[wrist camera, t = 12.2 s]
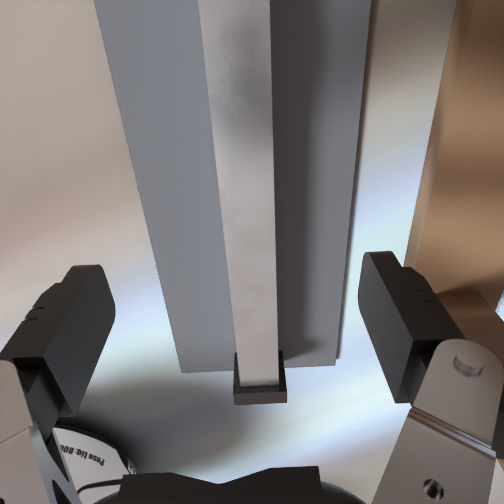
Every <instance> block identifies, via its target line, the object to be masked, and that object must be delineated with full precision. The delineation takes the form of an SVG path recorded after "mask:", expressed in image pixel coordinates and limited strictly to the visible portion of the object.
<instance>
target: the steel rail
mask: <svg viewBox="0 0 504 504" xmlns="http://www.w3.org/2000/svg"><path fill="white" fill-rule="evenodd" d="M198 6H199V15H200V24H201V33H202V42H203V51H204V60H205V69H206V78H207V87H208V96H209V105H210V114H211V123H212V132H213V141H214V150H215V159H216V168H217V177H218V186H219V195H220V204H221V214H222V223H223V232H224V241H225V250H226V259H227V268H228V277H229V286H230V295H231V304H232V313H233V322H234V331H235V340H236V349H237V353H235V355H234V385H233V396H234V404H235V405H248V404H269V403H287V388H286V379H285V370H284V361H283V352H282V350H281V351H278V329H277V287H276V246H275V204H274V163H273V121H272V80H271V38H270V0H198Z"/></svg>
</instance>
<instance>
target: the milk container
mask: <svg viewBox="0 0 504 504" xmlns="http://www.w3.org/2000/svg"><path fill="white" fill-rule="evenodd" d="M53 430H54V431H55V433H56V435H57V438H58V441H59V444H60V447H61V449H62V452H63V455H64V458H65V461H66V463H67V466H68V469H69V472H70V475H71V477H72V480H73V483H74V486H75V489H76V491H77V493H78V496H79V498H80V500H81V502H82V504H93V503H95V502H97V501H98V500H100V499H102V498H104V497H106V496H108V495H110V494H112V493H115V492H118V491H119V489H120V485H121V481H122V477H123V474H138V472H137V469H136V467H135V465H134V464H133V463H132V461H131V460H130V459H129V457H128V456H127V455H126V454H125V453H124V452H123V451H122V450H121V449H120V448H118V447H117V446H115V445H113V444H111V443H110V442H108V441H107V440H106V439H104V438H103V437H101V436H99V435H96V434H94V433H90V432H87V431H84V430H82V429H79V428H77V427H74V426H70V425H63V424H55V425H54V427H53Z"/></svg>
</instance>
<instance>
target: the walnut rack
mask: <svg viewBox="0 0 504 504" xmlns="http://www.w3.org/2000/svg"><path fill="white" fill-rule="evenodd" d="M403 267H411V268H413V269H414V270H416V271H417V272H418V273H420V274H421V275H422V276H424V277H425V279H426V280H427V282H428V283H429V285H430V286H431V288H432V289H433V292H435V294H436V295H437V297H438V298H439V301H440V302H441V303H442V304H443V305H444V307H445V308H446V310H447V311H448V313H449V314H450V316H451V317H452V319H453V320H454V322H455V323H456V325H457V326H458V328H459V329H460V331H461V332H462V334H463V335H464V337H465V338H466V340H468V341H471V342H474V343H477V344H479V345H481V346H483V347H485V348H486V349H488V350H489V351H491V352H492V353H493V354H494V355H495V356H496V357H497V358H498V359H499V360H500V362H501V363H502V365H504V321H503V320H502V319H501V318H500V317H499V315H498V314H497V313H496V312H495V309H496V307H497V304H498V302H499V299H500V297H501V294H502V292H503V289H504V0H457V4H456V9H455V14H454V19H453V24H452V29H451V34H450V39H449V44H448V49H447V54H446V59H445V63H444V68H443V73H442V78H441V83H440V88H439V93H438V98H437V103H436V108H435V113H434V118H433V123H432V128H431V133H430V138H429V142H428V147H427V152H426V157H425V162H424V167H423V172H422V177H421V182H420V187H419V192H418V197H417V202H416V207H415V212H414V217H413V221H412V226H411V231H410V236H409V241H408V246H407V251H406V256H405V261H404V266H403ZM497 460H498V462H499V464H500V465H501V467H502V469H503V471H504V460H501V459H497Z"/></svg>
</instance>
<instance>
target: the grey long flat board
mask: <svg viewBox="0 0 504 504" xmlns="http://www.w3.org/2000/svg"><path fill="white" fill-rule="evenodd" d="M94 4H95V8H96V13H97V17H98V21H99V25H100V29H101V34H102V38H103V42H104V46H105V51H106V55H107V59H108V63H109V67H110V72H111V76H112V80H113V84H114V89H115V93H116V97H117V101H118V106H119V110H120V114H121V118H122V122H123V127H124V131H125V135H126V139H127V144H128V148H129V152H130V156H131V160H132V165H133V169H134V173H135V177H136V182H137V186H138V190H139V194H140V198H141V203H142V207H143V211H144V215H145V220H146V224H147V228H148V232H149V237H150V241H151V245H152V249H153V253H154V258H155V262H156V266H157V270H158V275H159V279H160V283H161V287H162V291H163V296H164V300H165V304H166V308H167V313H168V317H169V321H170V325H171V329H172V334H173V338H174V342H175V346H176V351H177V355H178V359H179V363H180V368H181V372H182V373H192V372H212V371H233V370H234V355H235V353H237V349H236V340H235V331H234V322H233V313H232V304H231V295H230V286H229V277H228V268H227V259H226V250H225V241H224V232H223V223H222V214H221V204H220V195H219V186H218V177H217V168H216V159H215V150H214V141H213V132H212V123H211V114H210V105H209V96H208V87H207V78H206V69H205V60H204V51H203V42H202V33H201V24H200V15H199V6H198V0H94ZM370 8H371V0H270V38H271V80H272V121H273V163H274V204H275V246H276V287H277V329H278V351H281V350H282V352H283V361H284V368H294V367H315V366H335V363H336V353H337V343H338V333H339V323H340V312H341V302H342V292H343V282H344V272H345V262H346V252H347V241H348V231H349V221H350V211H351V201H352V191H353V181H354V171H355V160H356V150H357V140H358V130H359V120H360V110H361V100H362V90H363V79H364V69H365V59H366V49H367V39H368V29H369V19H370Z"/></svg>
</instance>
